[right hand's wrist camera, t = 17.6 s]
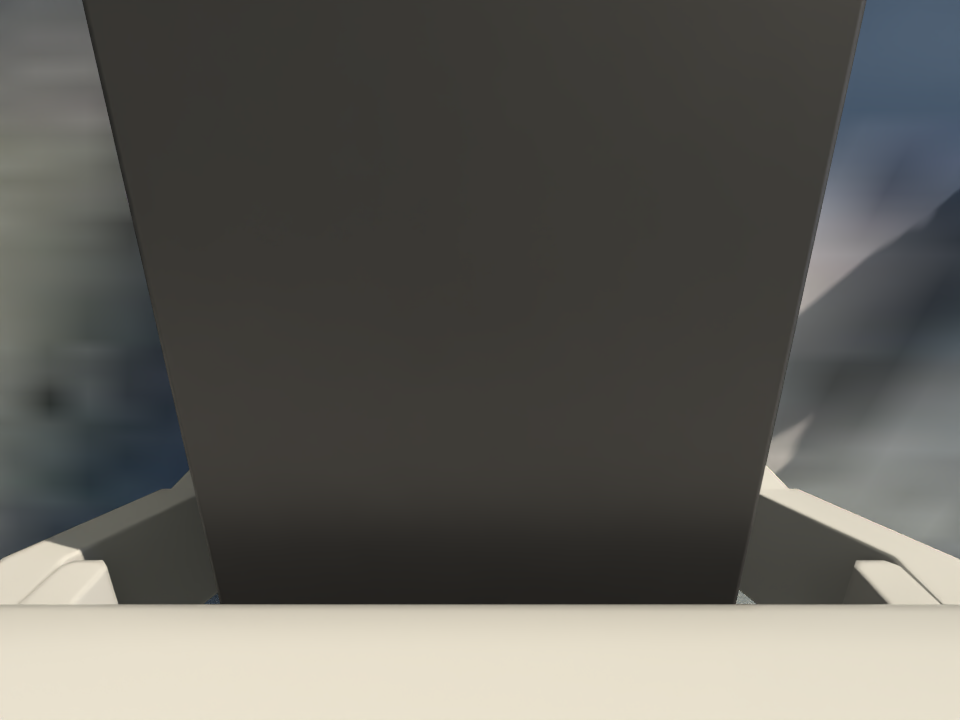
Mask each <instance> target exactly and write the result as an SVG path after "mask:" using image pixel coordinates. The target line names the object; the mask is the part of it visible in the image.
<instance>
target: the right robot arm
mask: <svg viewBox="0 0 960 720" xmlns="http://www.w3.org/2000/svg"><path fill="white" fill-rule="evenodd" d="M739 590H740V591H741V592H743V593H744V594H745V595H746V596H748V597H749V598H750V599H751V600H752V601H754V602H755V603H756V604H204V603H205V602H207V601H208V600H209V599H210V598H212V597H213V596H214V595H215V594H217V593H218V592H217V587H216V583H215V578H214V574H213V570H212V565H211V561H210V557H209V552H208V548H207V543H206V539H205V535H204V530H203V526H202V522H201V517H200V513H199V509H198V504H197V500H196V495H195V491H194V487H193V482H192V478H191V474H190V470H189V471H188V472H187V473H186V474H185V475H184V476H183V477H182V478H181V479H180V480H179V481H178V482H177V483H176V484H175V485H174V486H173V487H172V489H161V490H159V491H156V492H154V493H152V494H149V495H147V496H145V497H142V498H140V499H138V500H135V501H133V502H131V503H129V504H126V505H124V506H122V507H119V508H117V509H115V510H112V511H110V512H108V513H106V514H103V515H101V516H99V517H96V518H94V519H92V520H89V521H87V522H85V523H83V524H80V525H78V526H76V527H73V528H71V529H69V530H66V531H64V532H62V533H59V534H57V535H55V536H53V537H50V538H48V539H46V540H43V541H41V542H39V543H36V544H34V545H32V546H30V547H27V548H25V549H23V550H20V551H18V552H16V553H13V554H11V555H9V556H7V557H4V558H2V559H1V560H0V720H960V560H959V559H958V558H955V557H953V556H951V555H949V554H946V553H944V552H942V551H939V550H937V549H935V548H932V547H930V546H928V545H926V544H923V543H921V542H919V541H916V540H914V539H912V538H910V537H907V536H905V535H903V534H900V533H898V532H896V531H893V530H891V529H889V528H887V527H884V526H882V525H880V524H877V523H875V522H873V521H870V520H868V519H866V518H864V517H861V516H859V515H857V514H854V513H852V512H850V511H848V510H845V509H843V508H841V507H838V506H836V505H834V504H831V503H829V502H827V501H825V500H822V499H820V498H818V497H815V496H813V495H811V494H808V493H806V492H804V491H802V490H799V489H789V488H788V487H787V486H786V485H785V484H784V483H783V482H782V481H781V480H780V479H779V478H778V477H777V476H776V475H775V474H774V473H773V472H772V471H771V470H770V469H769V468H768V467H767V466H765V471H764V476H763V480H762V485H761V490H760V494H759V499H758V503H757V508H756V513H755V517H754V522H753V526H752V531H751V536H750V540H749V545H748V550H747V554H746V559H745V563H744V568H743V573H742V577H741V582H740V586H739Z"/></svg>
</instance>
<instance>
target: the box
mask: <svg viewBox="0 0 960 720" xmlns="http://www.w3.org/2000/svg"><path fill="white" fill-rule="evenodd" d="M82 2H83V6H84V11H85V15H86V20H87V24H88V28H89V33H90V37H91V41H92V46H93V50H94V54H95V59H96V63H97V68H98V72H99V76H100V81H101V85H102V89H103V94H104V98H105V102H106V107H107V111H108V116H109V120H110V124H111V129H112V133H113V137H114V142H115V146H116V150H117V155H118V159H119V164H120V168H121V172H122V177H123V181H124V185H125V190H126V194H127V199H128V203H129V207H130V212H131V216H132V220H133V225H134V229H135V233H136V238H137V242H138V247H139V251H140V255H141V260H142V264H143V268H144V273H145V277H146V281H147V286H148V290H149V295H150V299H151V303H152V308H153V312H154V316H155V321H156V325H157V330H158V334H159V338H160V343H161V347H162V351H163V356H164V360H165V364H166V369H167V373H168V378H169V382H170V386H171V391H172V395H173V399H174V404H175V408H176V412H177V417H178V421H179V426H180V430H181V434H182V439H183V443H184V447H185V452H186V456H187V461H188V465H189V469H190V474H191V478H192V482H193V487H194V491H195V495H196V500H197V504H198V509H199V513H200V517H201V522H202V526H203V530H204V535H205V539H206V543H207V548H208V552H209V557H210V561H211V565H212V570H213V574H214V578H215V583H216V587H217V592H218V596H219V600H220V604H736V600H737V596H738V591H739V586H740V582H741V577H742V573H743V568H744V563H745V559H746V554H747V550H748V545H749V540H750V536H751V531H752V526H753V522H754V517H755V513H756V508H757V503H758V499H759V494H760V490H761V485H762V480H763V476H764V471H765V466H766V462H767V457H768V453H769V448H770V443H771V439H772V434H773V429H774V425H775V420H776V416H777V411H778V406H779V402H780V397H781V393H782V388H783V383H784V379H785V374H786V369H787V365H788V360H789V356H790V351H791V346H792V342H793V337H794V333H795V328H796V323H797V319H798V314H799V309H800V305H801V300H802V296H803V291H804V286H805V282H806V277H807V272H808V268H809V263H810V259H811V254H812V249H813V245H814V240H815V236H816V231H817V226H818V222H819V217H820V212H821V208H822V203H823V199H824V194H825V189H826V185H827V180H828V176H829V171H830V166H831V162H832V157H833V152H834V148H835V143H836V139H837V134H838V129H839V125H840V120H841V115H842V111H843V106H844V102H845V97H846V92H847V88H848V83H849V79H850V74H851V69H852V65H853V60H854V55H855V51H856V46H857V42H858V37H859V32H860V28H861V23H862V18H863V14H864V9H865V5H866V0H82Z"/></svg>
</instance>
